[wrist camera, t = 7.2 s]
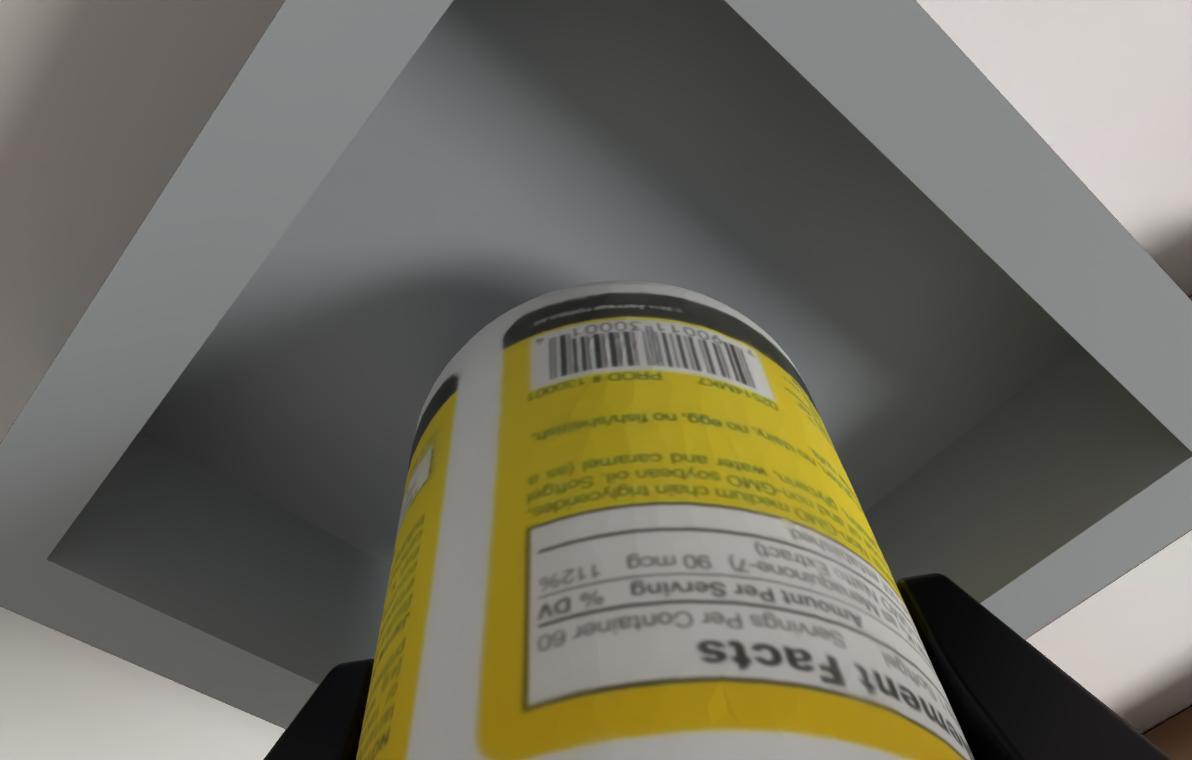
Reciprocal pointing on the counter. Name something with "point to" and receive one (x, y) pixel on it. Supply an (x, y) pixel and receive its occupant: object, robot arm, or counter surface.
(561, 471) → the supplement bottle
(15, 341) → the counter surface
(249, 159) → the tray
